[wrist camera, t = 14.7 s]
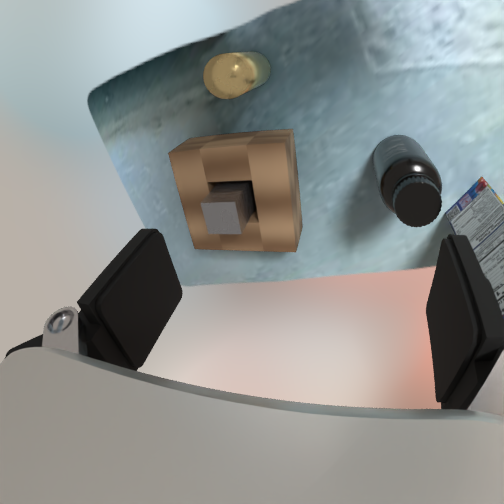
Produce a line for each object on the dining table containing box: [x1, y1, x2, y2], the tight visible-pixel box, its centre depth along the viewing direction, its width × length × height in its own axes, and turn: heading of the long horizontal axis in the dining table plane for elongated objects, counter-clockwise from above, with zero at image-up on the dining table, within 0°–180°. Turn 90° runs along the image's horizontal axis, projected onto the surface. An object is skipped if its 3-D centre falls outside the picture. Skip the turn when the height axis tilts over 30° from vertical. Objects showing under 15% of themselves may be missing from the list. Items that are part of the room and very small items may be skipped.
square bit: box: [201, 180, 256, 234], centre depth 39 cm, size 4×4×10 cm
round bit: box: [203, 51, 271, 99], centre depth 30 cm, size 5×5×9 cm
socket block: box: [168, 129, 302, 252], centre depth 40 cm, size 14×14×6 cm
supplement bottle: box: [373, 135, 442, 227], centre depth 30 cm, size 7×7×12 cm
